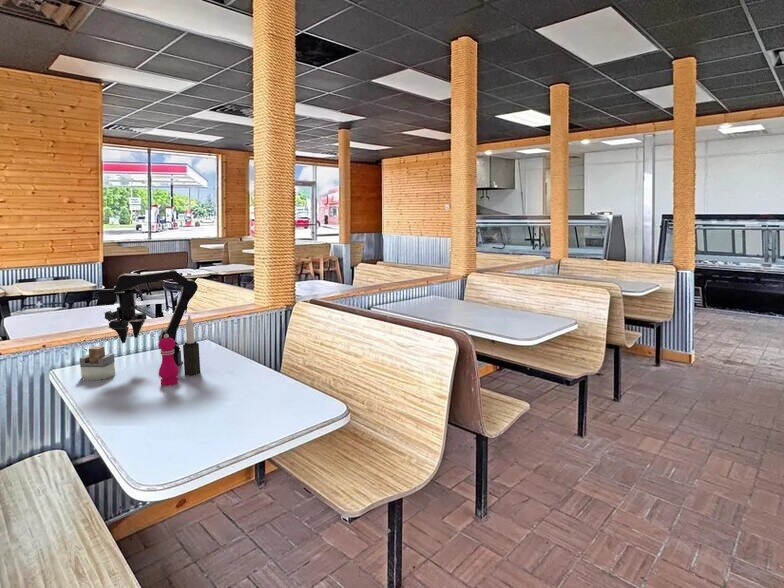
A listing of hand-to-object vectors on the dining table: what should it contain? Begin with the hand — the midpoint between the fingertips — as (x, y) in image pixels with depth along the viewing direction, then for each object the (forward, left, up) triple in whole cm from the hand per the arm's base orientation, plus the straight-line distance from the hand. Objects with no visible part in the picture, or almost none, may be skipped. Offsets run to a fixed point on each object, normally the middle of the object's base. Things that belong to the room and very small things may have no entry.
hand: (129, 340), depth 213 cm
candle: (-28, +4, -13) cm, 31 cm away
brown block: (+9, +9, -8) cm, 15 cm away
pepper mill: (-24, +16, -13) cm, 32 cm away
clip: (+9, +9, -8) cm, 15 cm away
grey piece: (+9, +9, -13) cm, 18 cm away
